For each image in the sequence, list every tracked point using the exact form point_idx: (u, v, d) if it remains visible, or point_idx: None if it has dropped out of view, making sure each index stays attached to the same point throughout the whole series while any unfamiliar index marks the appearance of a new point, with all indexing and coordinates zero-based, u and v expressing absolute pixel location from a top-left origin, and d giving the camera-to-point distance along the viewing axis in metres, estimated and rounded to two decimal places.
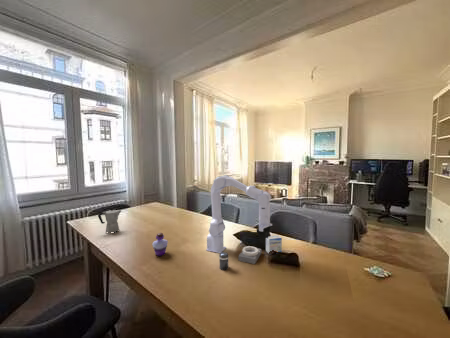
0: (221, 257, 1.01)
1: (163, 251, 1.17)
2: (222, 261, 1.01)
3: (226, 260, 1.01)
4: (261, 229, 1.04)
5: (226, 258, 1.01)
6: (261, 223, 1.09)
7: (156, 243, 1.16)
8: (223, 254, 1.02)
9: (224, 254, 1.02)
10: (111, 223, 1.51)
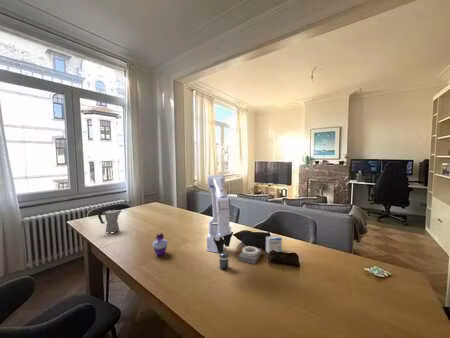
0: (221, 257, 1.01)
1: (163, 251, 1.17)
2: (222, 261, 1.01)
3: (226, 260, 1.01)
4: (217, 238, 0.95)
5: (226, 258, 1.01)
6: (219, 231, 1.00)
7: (156, 243, 1.16)
8: (223, 254, 1.02)
9: (224, 254, 1.02)
10: (111, 223, 1.51)
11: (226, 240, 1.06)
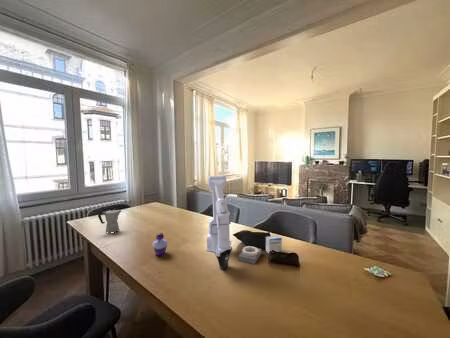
0: None
1: (163, 251, 1.17)
2: None
3: (226, 260, 1.01)
4: (217, 254, 0.96)
5: (226, 258, 1.01)
6: (219, 246, 1.00)
7: (156, 243, 1.16)
8: None
9: None
10: (111, 223, 1.51)
11: None
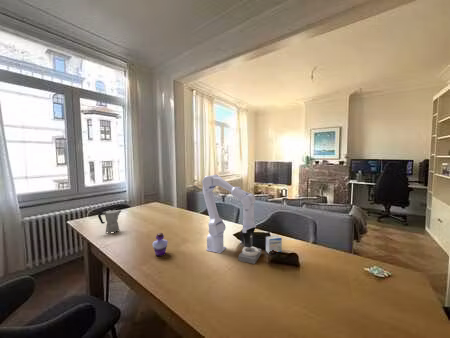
0: None
1: (163, 251, 1.17)
2: None
3: (251, 238, 1.12)
4: (244, 230, 1.06)
5: (251, 236, 1.11)
6: (245, 224, 1.10)
7: (156, 243, 1.16)
8: None
9: None
10: (111, 223, 1.51)
11: None
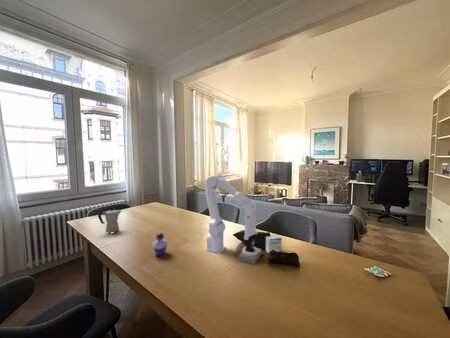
0: None
1: (163, 251, 1.17)
2: None
3: (253, 244, 1.13)
4: (246, 237, 1.07)
5: (253, 242, 1.13)
6: (247, 231, 1.11)
7: (156, 243, 1.16)
8: None
9: None
10: (111, 223, 1.51)
11: None
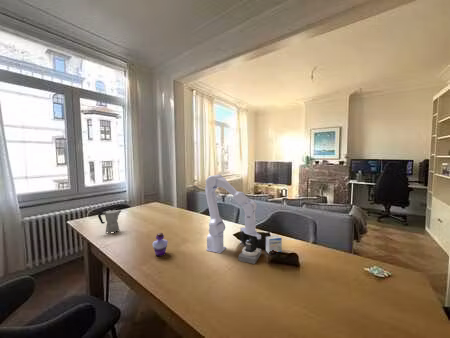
0: None
1: (163, 251, 1.17)
2: None
3: None
4: (260, 237, 1.08)
5: None
6: (252, 232, 1.11)
7: (156, 243, 1.16)
8: (250, 239, 1.13)
9: None
10: (111, 223, 1.51)
11: None
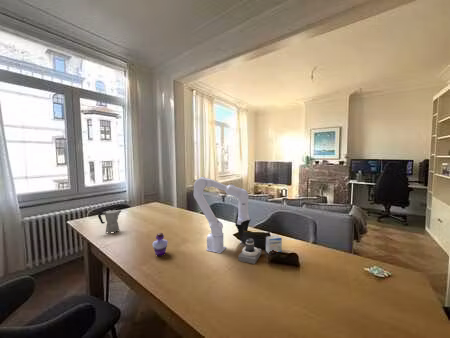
0: (252, 242, 1.12)
1: (163, 251, 1.17)
2: (253, 245, 1.13)
3: None
4: (239, 222, 1.15)
5: None
6: (240, 217, 1.20)
7: (156, 243, 1.16)
8: (250, 239, 1.13)
9: (251, 239, 1.14)
10: (111, 223, 1.51)
11: (245, 225, 1.26)
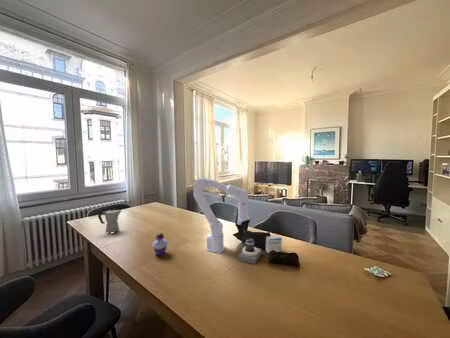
0: (252, 242, 1.12)
1: (163, 251, 1.17)
2: (253, 245, 1.13)
3: None
4: (239, 222, 1.15)
5: None
6: (240, 217, 1.20)
7: (156, 243, 1.16)
8: (250, 239, 1.13)
9: (251, 239, 1.14)
10: (111, 223, 1.51)
11: (244, 225, 1.26)
